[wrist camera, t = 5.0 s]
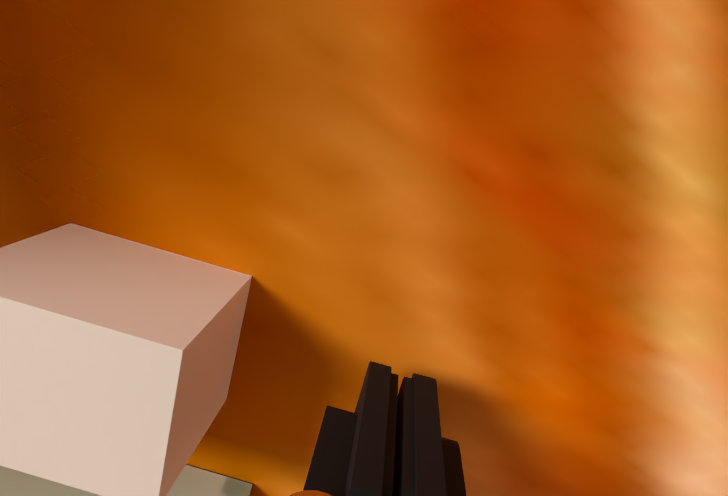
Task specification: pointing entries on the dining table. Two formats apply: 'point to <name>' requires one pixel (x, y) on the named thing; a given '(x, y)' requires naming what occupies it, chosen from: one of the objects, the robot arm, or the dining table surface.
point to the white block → (111, 358)
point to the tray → (28, 492)
